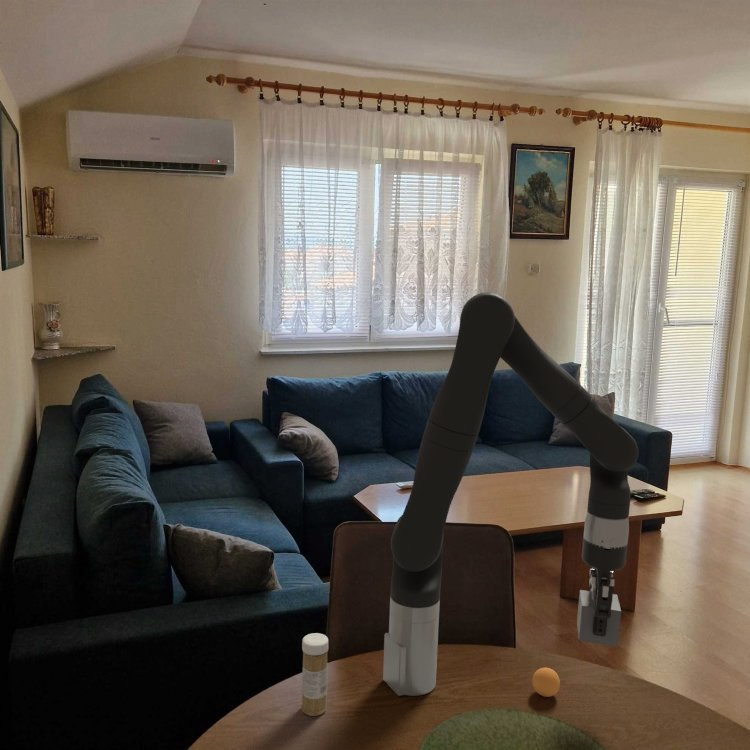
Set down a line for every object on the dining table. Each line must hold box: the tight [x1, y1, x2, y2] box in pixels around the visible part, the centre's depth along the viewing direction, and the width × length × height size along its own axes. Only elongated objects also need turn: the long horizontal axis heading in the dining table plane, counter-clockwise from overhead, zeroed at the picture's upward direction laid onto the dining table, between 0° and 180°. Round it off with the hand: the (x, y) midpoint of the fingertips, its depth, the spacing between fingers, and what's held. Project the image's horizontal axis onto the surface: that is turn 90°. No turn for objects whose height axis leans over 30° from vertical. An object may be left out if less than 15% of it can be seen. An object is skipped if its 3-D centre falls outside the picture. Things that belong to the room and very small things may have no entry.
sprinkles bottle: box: [301, 632, 329, 717], centre depth 127 cm, size 5×5×13 cm
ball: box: [532, 667, 561, 698], centre depth 134 cm, size 5×5×5 cm
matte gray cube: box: [576, 589, 622, 647], centre depth 130 cm, size 7×7×7 cm
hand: (597, 625), depth 131 cm, fingers closed on matte gray cube, 6 cm apart
